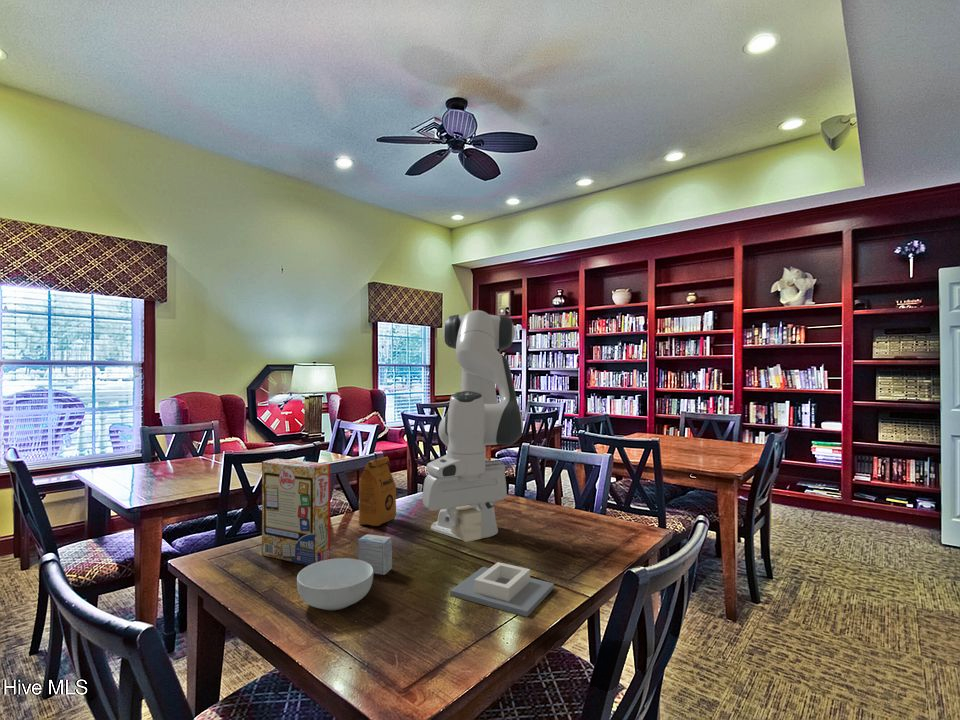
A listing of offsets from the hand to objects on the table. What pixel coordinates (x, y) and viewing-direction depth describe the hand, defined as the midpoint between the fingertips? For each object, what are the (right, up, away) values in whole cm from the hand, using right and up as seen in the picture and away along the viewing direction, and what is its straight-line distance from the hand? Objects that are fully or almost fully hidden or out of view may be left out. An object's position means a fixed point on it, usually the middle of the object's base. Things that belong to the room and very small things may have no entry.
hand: (465, 523), depth 114 cm
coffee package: (-32, -19, +59) cm, 69 cm away
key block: (0, -3, 0) cm, 3 cm away
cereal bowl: (-30, -19, +1) cm, 35 cm away
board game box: (-49, -19, +27) cm, 59 cm away
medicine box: (-25, -19, +19) cm, 36 cm away
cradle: (+9, -19, +7) cm, 22 cm away
